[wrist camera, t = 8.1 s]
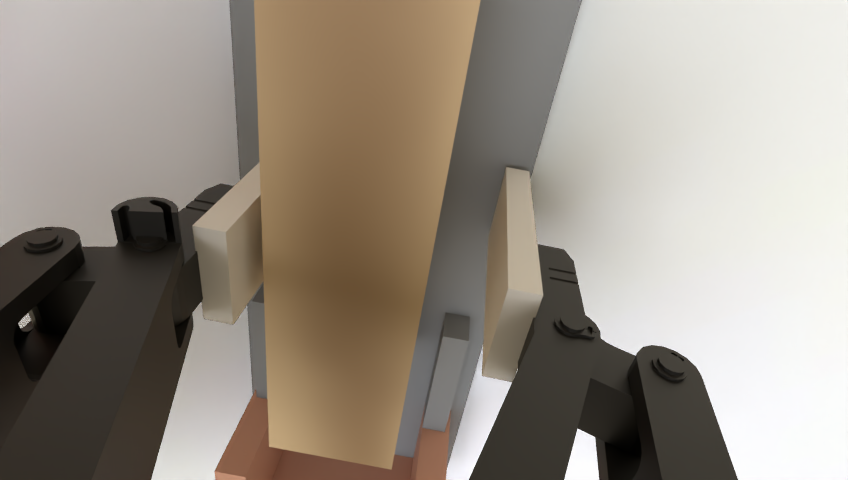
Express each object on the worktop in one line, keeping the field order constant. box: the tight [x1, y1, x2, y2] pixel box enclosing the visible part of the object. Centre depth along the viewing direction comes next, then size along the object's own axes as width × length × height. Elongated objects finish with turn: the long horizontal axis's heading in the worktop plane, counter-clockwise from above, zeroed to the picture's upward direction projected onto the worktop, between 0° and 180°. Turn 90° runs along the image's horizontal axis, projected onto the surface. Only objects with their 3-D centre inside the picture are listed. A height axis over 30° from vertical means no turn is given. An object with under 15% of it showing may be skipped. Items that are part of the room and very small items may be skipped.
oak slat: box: [254, 0, 481, 470], centre depth 15 cm, size 4×14×6 cm, turn 172°
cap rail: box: [215, 0, 582, 480], centre depth 18 cm, size 10×24×6 cm, turn 172°
